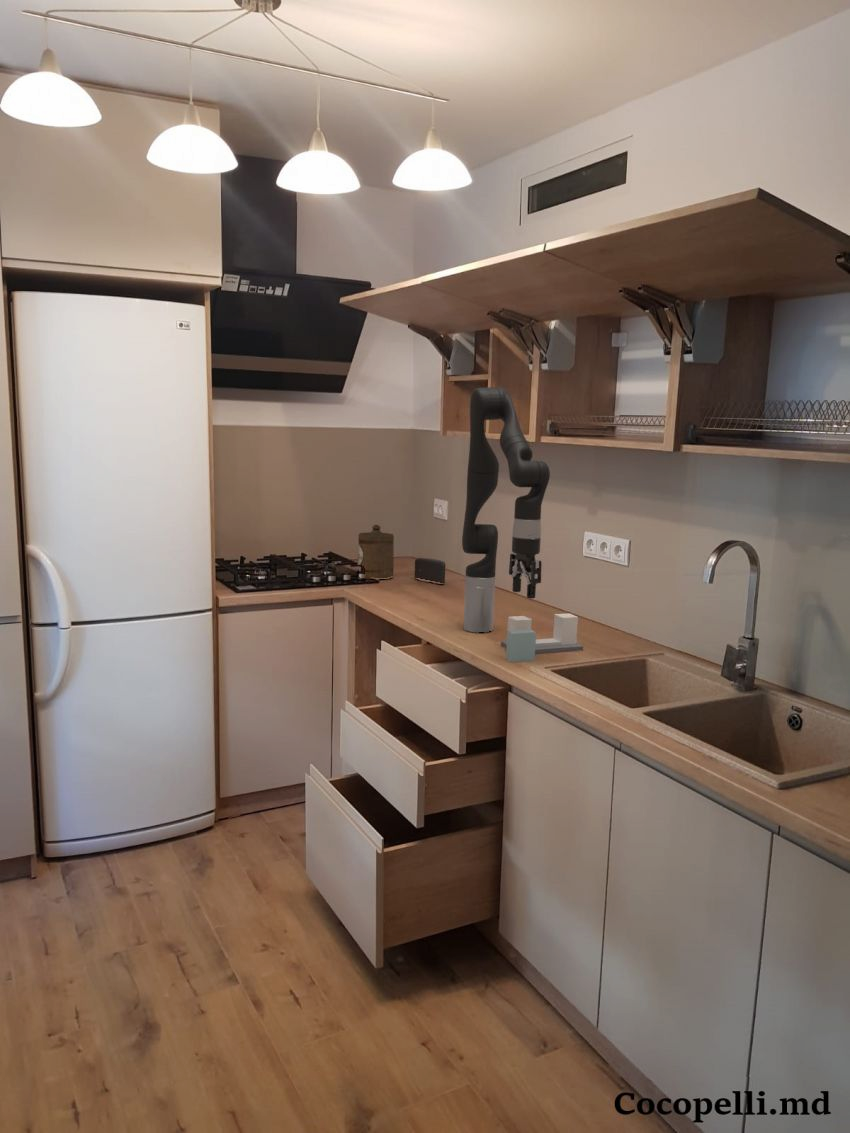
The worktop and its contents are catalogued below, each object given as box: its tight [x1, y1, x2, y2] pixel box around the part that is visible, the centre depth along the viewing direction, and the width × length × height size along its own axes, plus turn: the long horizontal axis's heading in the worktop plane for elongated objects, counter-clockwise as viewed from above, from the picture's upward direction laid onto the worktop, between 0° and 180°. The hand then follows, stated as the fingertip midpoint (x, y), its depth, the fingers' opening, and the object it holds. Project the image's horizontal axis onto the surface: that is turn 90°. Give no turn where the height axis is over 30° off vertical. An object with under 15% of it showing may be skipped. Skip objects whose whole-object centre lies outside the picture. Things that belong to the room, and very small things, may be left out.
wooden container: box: [357, 524, 395, 578], centre depth 351 cm, size 15×15×22 cm
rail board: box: [500, 612, 584, 655], centre depth 245 cm, size 11×21×9 cm, turn 111°
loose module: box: [505, 629, 537, 663], centre depth 231 cm, size 4×7×8 cm, turn 111°
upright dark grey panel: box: [414, 557, 446, 583], centre depth 344 cm, size 16×5×9 cm, turn 47°
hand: (523, 594), depth 229 cm, fingers open, 8 cm apart
